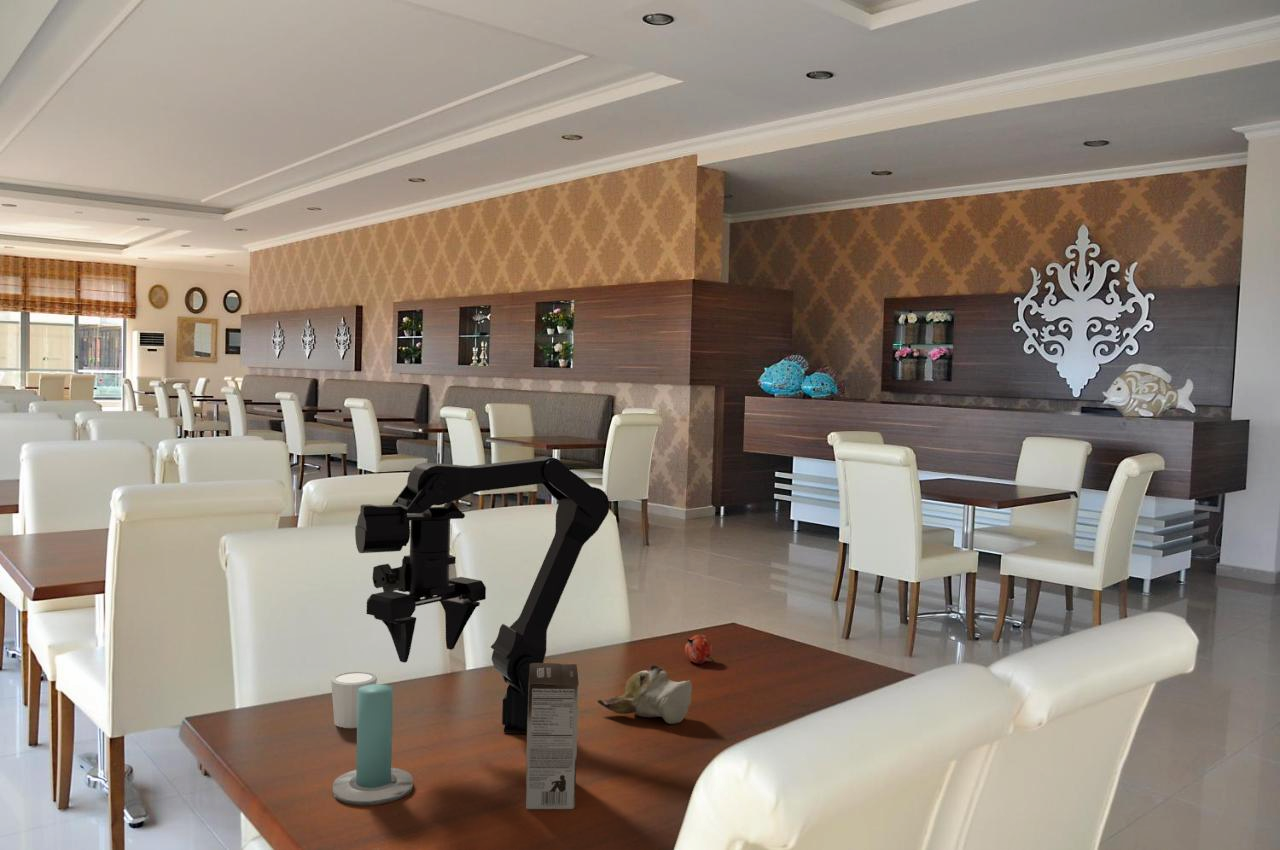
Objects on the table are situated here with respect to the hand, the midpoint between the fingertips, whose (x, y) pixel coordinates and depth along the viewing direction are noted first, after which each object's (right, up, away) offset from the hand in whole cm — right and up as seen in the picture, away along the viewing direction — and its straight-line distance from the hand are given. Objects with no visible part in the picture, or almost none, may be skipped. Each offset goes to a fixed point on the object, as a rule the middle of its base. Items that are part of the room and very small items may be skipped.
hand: (427, 655), depth 144 cm
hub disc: (-3, -14, -16) cm, 22 cm away
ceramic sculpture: (+33, -14, +16) cm, 39 cm away
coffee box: (+20, -14, -17) cm, 29 cm away
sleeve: (-3, -12, -17) cm, 21 cm away
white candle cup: (-13, -13, +9) cm, 20 cm away
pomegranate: (+43, -13, +48) cm, 66 cm away
